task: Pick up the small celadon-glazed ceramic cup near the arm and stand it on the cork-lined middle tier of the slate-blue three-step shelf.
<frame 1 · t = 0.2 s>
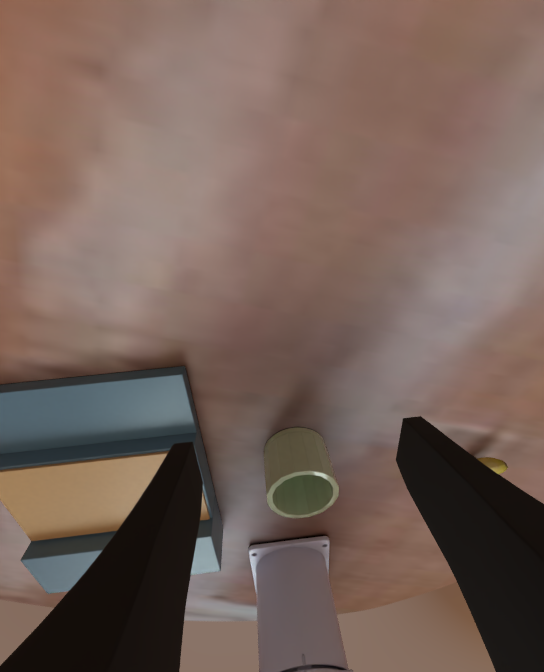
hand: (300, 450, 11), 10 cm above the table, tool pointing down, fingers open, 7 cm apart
step shelf: (118, 470, 24), on the table
banana: (448, 470, 28), on the table
cup: (294, 450, 25), on the table
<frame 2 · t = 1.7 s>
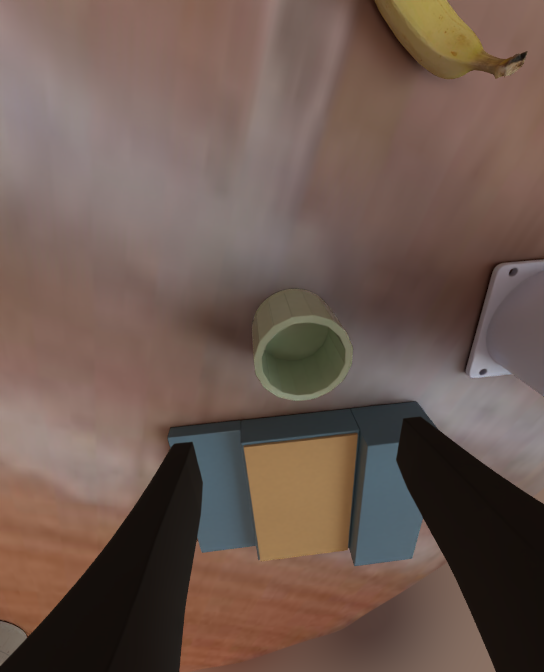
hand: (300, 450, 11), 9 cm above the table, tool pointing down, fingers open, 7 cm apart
step shelf: (298, 478, 25), on the table
banana: (398, 15, 13), on the table
cup: (292, 327, 19), on the table
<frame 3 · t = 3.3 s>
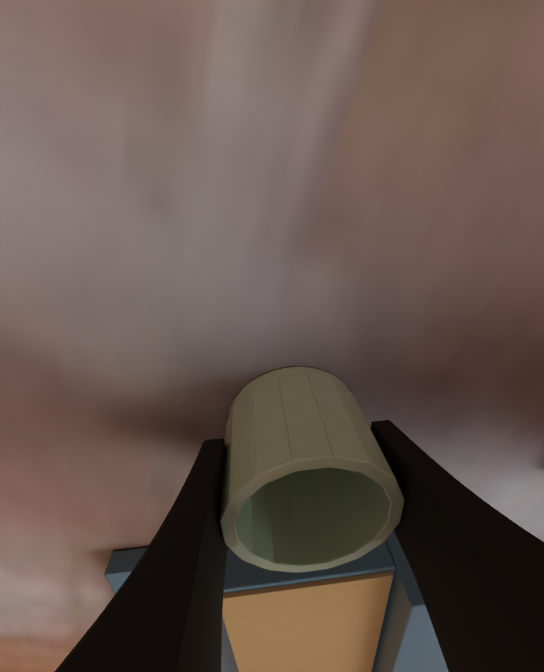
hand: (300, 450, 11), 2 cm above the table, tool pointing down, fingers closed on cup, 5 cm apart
step shelf: (300, 597, 18), on the table
cup: (292, 420, 12), on the table, touching gripper
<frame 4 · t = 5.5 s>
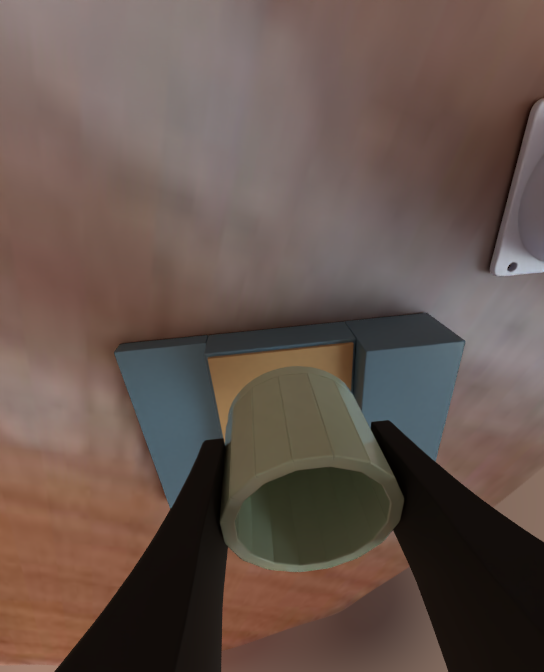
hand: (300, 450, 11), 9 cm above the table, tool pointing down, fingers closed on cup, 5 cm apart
step shelf: (283, 418, 21), on the table
cup: (292, 419, 12), point 7 cm above the table, touching gripper
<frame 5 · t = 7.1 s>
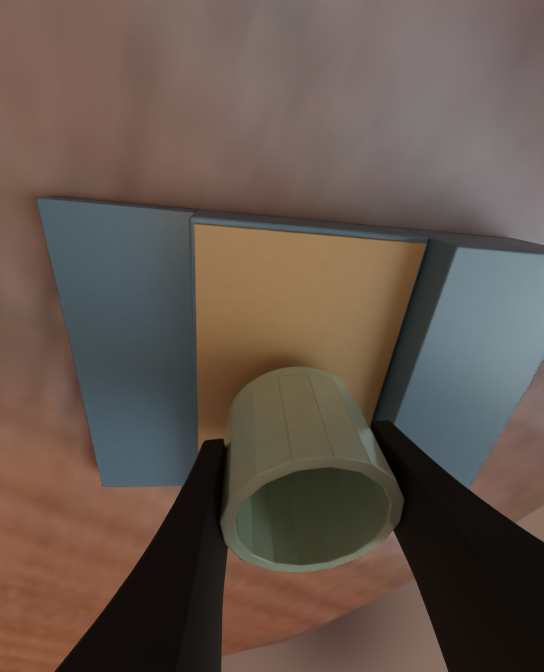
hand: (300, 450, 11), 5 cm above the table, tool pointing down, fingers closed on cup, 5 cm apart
step shelf: (283, 371, 15), on the table
cup: (292, 420, 12), point 3 cm above the table, touching gripper
when the fingers open (4 cm above the table, at t = 8.0 s): cup stays where it is, resting on step shelf.
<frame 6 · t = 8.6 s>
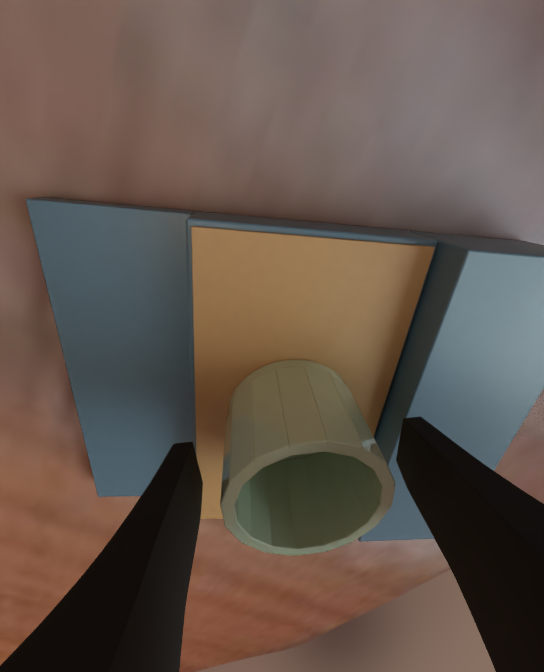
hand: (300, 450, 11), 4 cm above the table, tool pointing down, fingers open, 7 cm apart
step shelf: (284, 377, 14), on the table
cup: (290, 412, 12), point 2 cm above the table, touching step shelf
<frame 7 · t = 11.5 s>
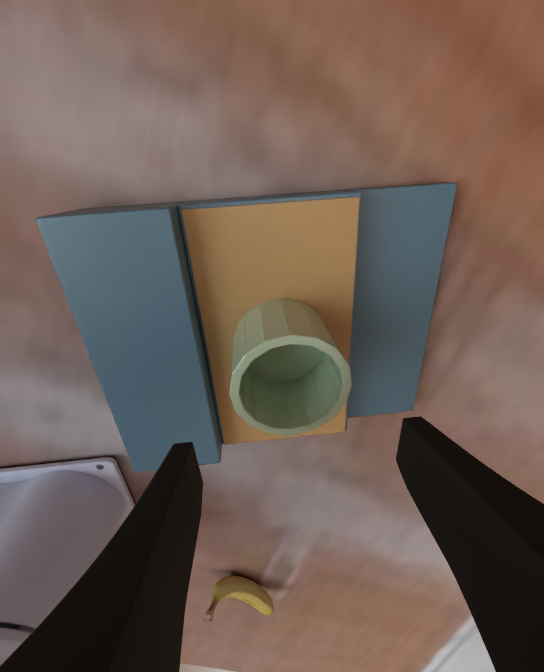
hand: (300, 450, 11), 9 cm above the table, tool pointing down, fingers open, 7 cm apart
step shelf: (275, 324, 18), on the table
banana: (242, 577, 31), on the table
cup: (280, 343, 16), point 2 cm above the table, touching step shelf
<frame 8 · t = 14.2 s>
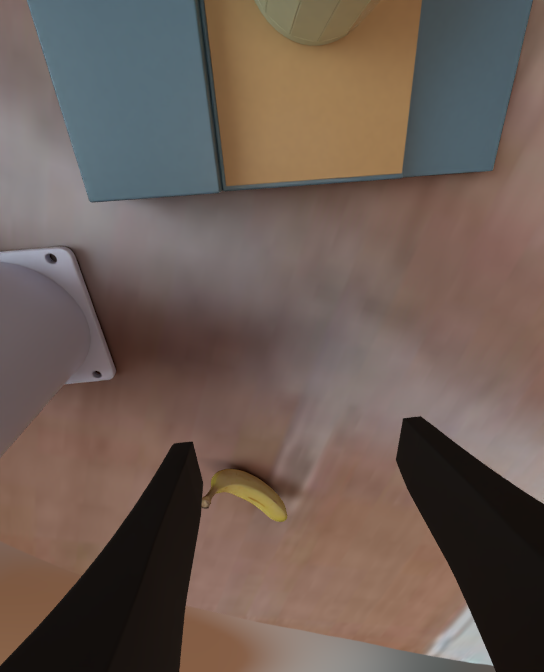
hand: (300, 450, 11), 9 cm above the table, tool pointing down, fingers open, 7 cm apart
banana: (247, 475, 25), on the table
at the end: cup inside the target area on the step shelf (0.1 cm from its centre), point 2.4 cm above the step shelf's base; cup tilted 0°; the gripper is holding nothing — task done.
